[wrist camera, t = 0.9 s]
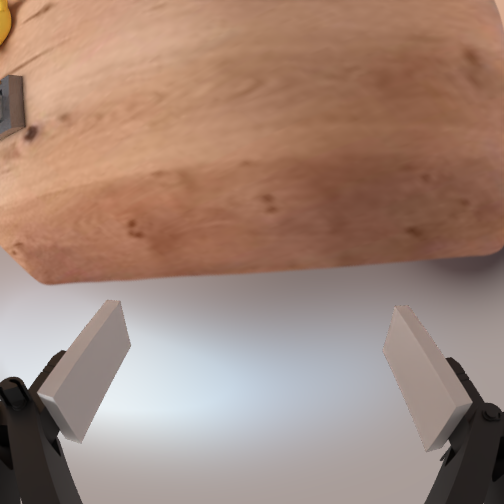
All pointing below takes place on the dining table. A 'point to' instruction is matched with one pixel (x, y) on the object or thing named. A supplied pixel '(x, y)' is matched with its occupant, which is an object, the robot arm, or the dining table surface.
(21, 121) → the grey socket base
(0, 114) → the twin plug
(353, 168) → the dining table surface
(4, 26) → the teapot
